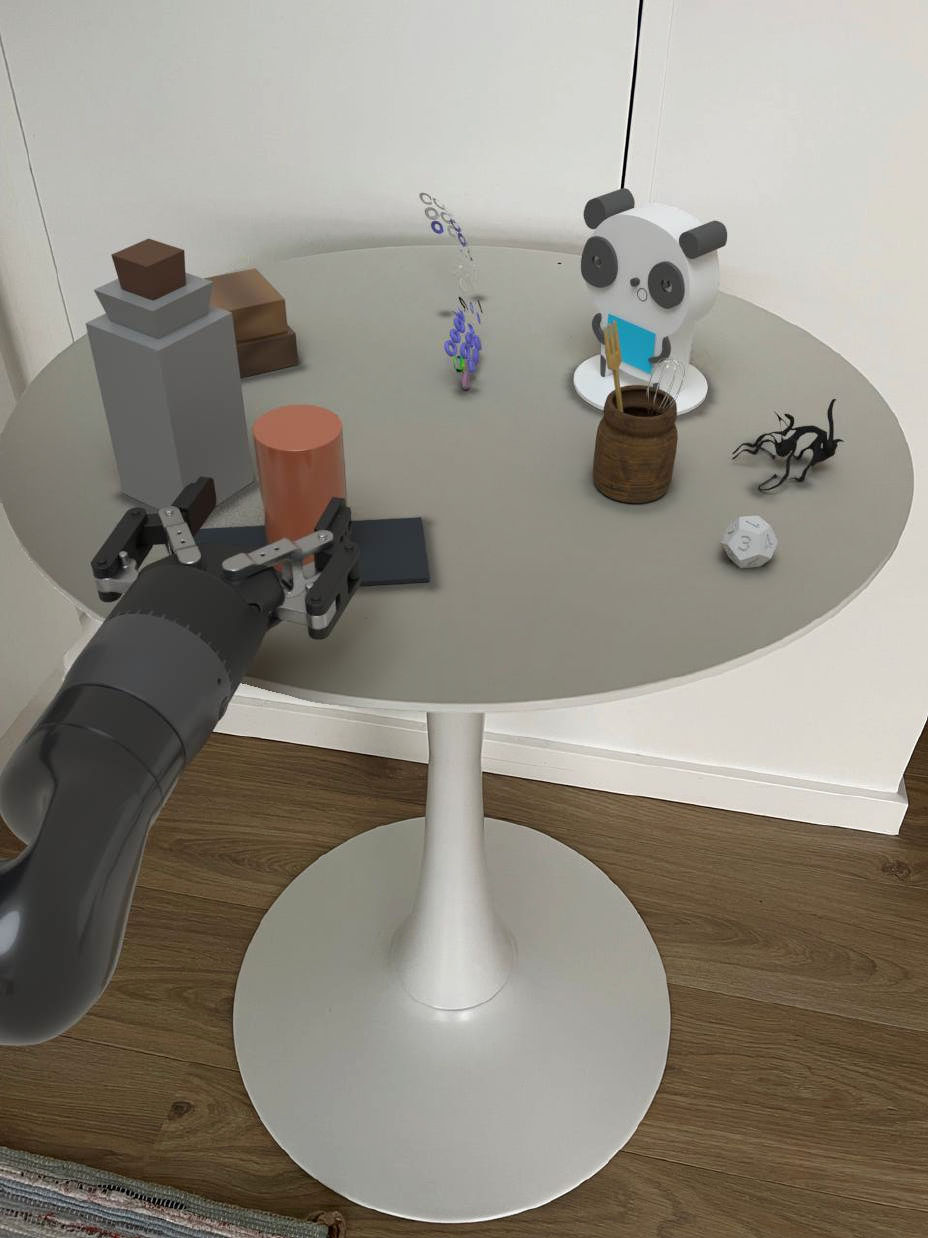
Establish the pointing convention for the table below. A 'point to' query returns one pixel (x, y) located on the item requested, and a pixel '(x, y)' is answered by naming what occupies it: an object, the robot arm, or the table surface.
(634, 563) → the table surface
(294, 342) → the block stack
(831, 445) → the creature
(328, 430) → the canister
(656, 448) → the utensil holder
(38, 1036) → the robot arm
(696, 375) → the panda figurine
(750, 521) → the game die
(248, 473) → the perfume bottle
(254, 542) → the mat
